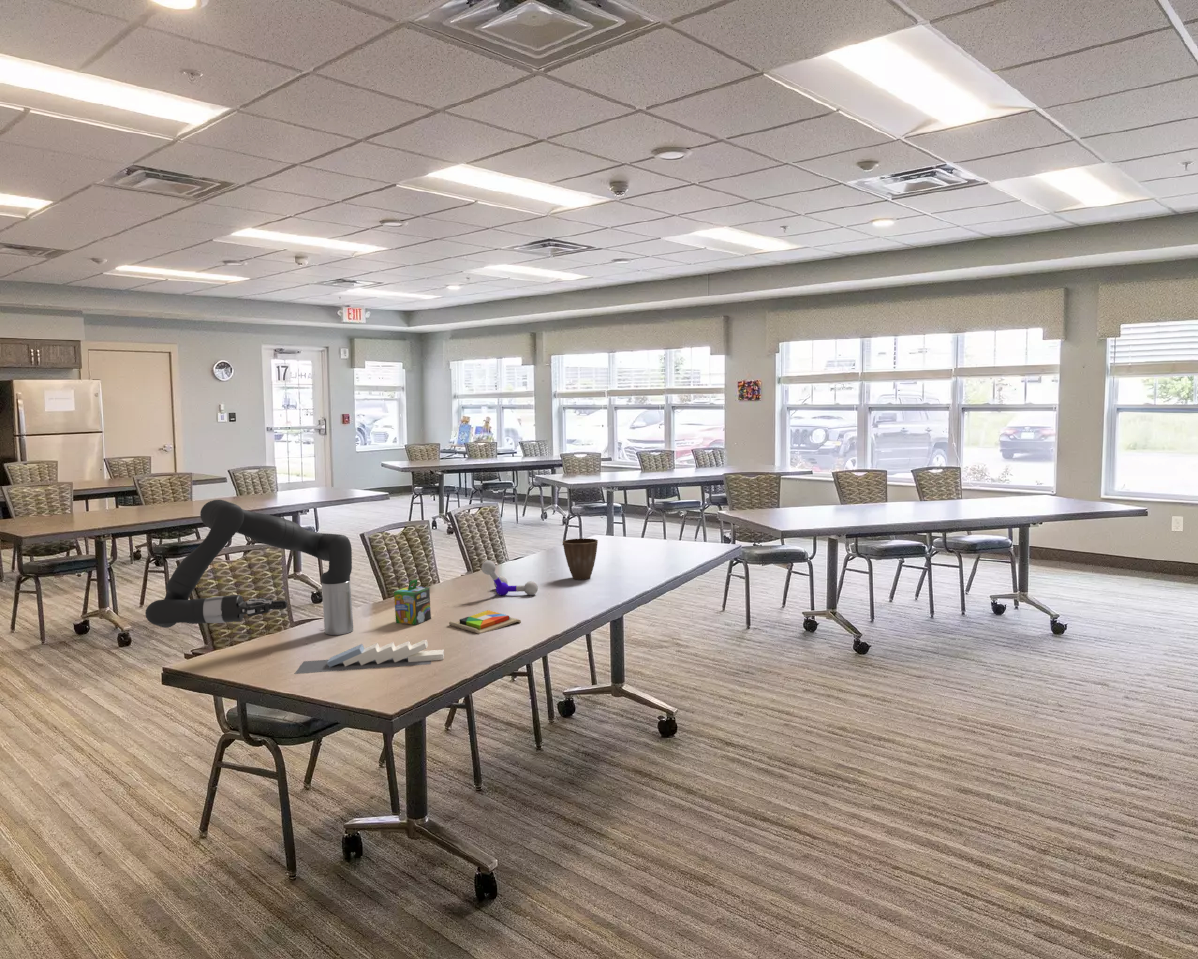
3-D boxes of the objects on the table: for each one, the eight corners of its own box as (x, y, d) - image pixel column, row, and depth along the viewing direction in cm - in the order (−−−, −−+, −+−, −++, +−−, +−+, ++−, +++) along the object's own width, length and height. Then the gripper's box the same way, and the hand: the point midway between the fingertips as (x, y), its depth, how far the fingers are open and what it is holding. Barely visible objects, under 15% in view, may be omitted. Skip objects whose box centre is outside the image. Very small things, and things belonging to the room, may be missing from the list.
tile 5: (392, 657, 246) (424, 643, 247) (394, 652, 251) (425, 638, 252) (394, 662, 246) (426, 648, 247) (396, 657, 251) (428, 643, 252)
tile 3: (358, 660, 245) (391, 646, 245) (361, 655, 250) (393, 641, 250) (361, 665, 245) (393, 651, 246) (363, 660, 250) (395, 646, 251)
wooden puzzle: (447, 627, 289) (446, 617, 288) (492, 616, 302) (491, 606, 301) (477, 635, 276) (476, 625, 276) (522, 624, 289) (522, 614, 289)
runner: (294, 675, 239) (294, 673, 239) (303, 662, 251) (303, 661, 251) (430, 665, 244) (430, 664, 244) (433, 653, 256) (433, 652, 256)
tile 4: (375, 659, 245) (407, 645, 246) (377, 654, 250) (409, 640, 251) (377, 664, 245) (409, 650, 246) (379, 659, 250) (411, 645, 251)
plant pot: (561, 575, 367) (560, 539, 365) (595, 573, 369) (594, 537, 368) (566, 582, 352) (565, 544, 351) (602, 580, 355) (600, 542, 353)
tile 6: (408, 656, 246) (442, 654, 248) (409, 651, 251) (443, 649, 252) (408, 662, 246) (443, 659, 248) (410, 657, 251) (444, 654, 253)
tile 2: (342, 661, 244) (375, 647, 245) (345, 656, 249) (377, 642, 250) (345, 666, 244) (377, 652, 245) (348, 661, 249) (379, 647, 250)
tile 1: (326, 662, 244) (359, 648, 244) (330, 657, 249) (362, 643, 249) (329, 667, 244) (361, 653, 245) (332, 662, 249) (364, 648, 250)
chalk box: (410, 617, 303) (408, 576, 301) (432, 619, 299) (429, 577, 298) (394, 623, 294) (392, 581, 293) (416, 625, 290) (414, 583, 289)
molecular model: (533, 600, 323) (531, 561, 322) (481, 600, 326) (479, 561, 325) (545, 588, 344) (543, 551, 343) (496, 588, 347) (494, 552, 346)
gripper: (232, 616, 248) (293, 611, 250) (217, 628, 235) (282, 623, 237) (229, 590, 247) (291, 586, 249) (215, 601, 234) (279, 596, 236)
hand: (286, 604), depth 243 cm, fingers closed
